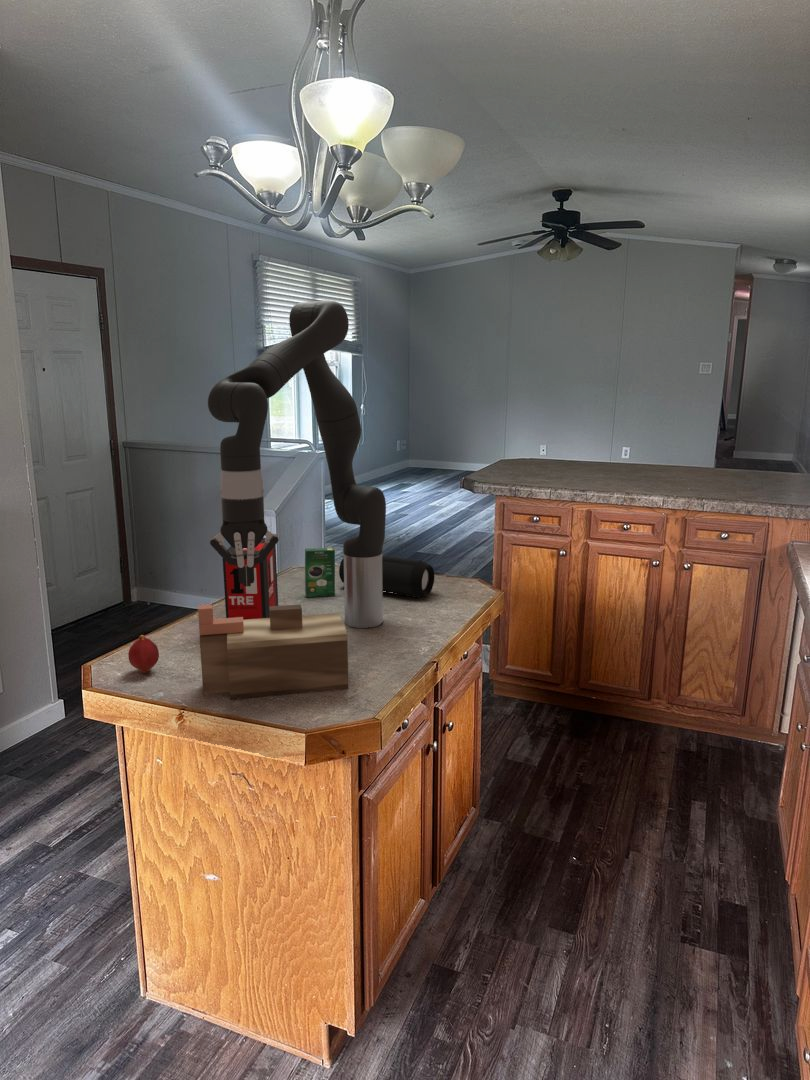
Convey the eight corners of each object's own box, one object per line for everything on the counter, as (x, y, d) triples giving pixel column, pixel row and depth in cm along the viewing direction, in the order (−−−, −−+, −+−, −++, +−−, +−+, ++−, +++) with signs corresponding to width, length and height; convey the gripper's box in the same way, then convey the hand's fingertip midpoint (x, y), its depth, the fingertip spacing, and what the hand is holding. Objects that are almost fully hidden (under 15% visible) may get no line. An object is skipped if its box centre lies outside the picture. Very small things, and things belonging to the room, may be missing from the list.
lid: (228, 631, 144) (226, 601, 143) (339, 623, 149) (338, 594, 148) (227, 654, 132) (225, 622, 131) (347, 645, 137) (347, 613, 136)
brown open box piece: (205, 676, 145) (201, 623, 143) (340, 664, 151) (339, 613, 148) (202, 702, 134) (198, 645, 131) (348, 688, 139) (347, 633, 137)
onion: (130, 668, 149) (126, 631, 147) (159, 664, 151) (156, 628, 149) (130, 679, 144) (126, 641, 142) (160, 675, 146) (157, 637, 144)
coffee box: (334, 593, 200) (333, 546, 197) (336, 596, 197) (335, 549, 194) (305, 595, 198) (303, 548, 195) (306, 598, 196) (304, 550, 193)
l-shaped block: (200, 629, 138) (198, 604, 137) (243, 626, 140) (242, 601, 139) (199, 635, 135) (197, 609, 134) (243, 632, 137) (242, 606, 136)
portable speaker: (435, 593, 200) (436, 558, 198) (419, 603, 191) (419, 566, 189) (356, 581, 211) (355, 548, 209) (337, 590, 203) (336, 555, 201)
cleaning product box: (242, 616, 181) (238, 537, 176) (278, 616, 181) (275, 537, 177) (227, 640, 165) (222, 554, 160) (266, 640, 165) (262, 554, 160)
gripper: (278, 490, 138) (281, 578, 142) (205, 492, 135) (211, 582, 139) (280, 496, 131) (283, 589, 135) (203, 498, 128) (209, 593, 132)
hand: (246, 585), depth 137 cm, fingers closed
